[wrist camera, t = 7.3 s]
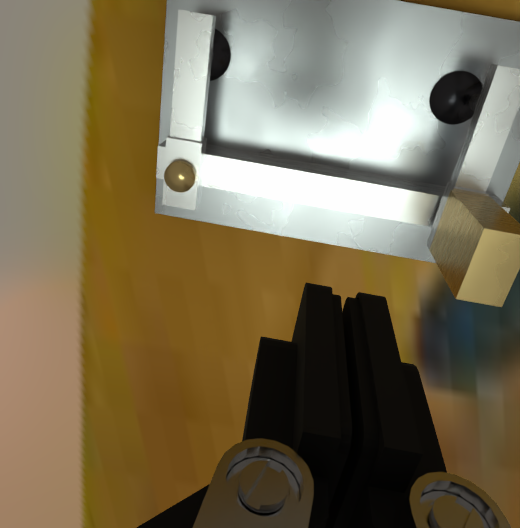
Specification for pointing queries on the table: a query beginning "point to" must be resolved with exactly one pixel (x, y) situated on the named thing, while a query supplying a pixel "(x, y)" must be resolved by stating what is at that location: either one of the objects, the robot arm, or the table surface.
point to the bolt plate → (324, 116)
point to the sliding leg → (480, 201)
